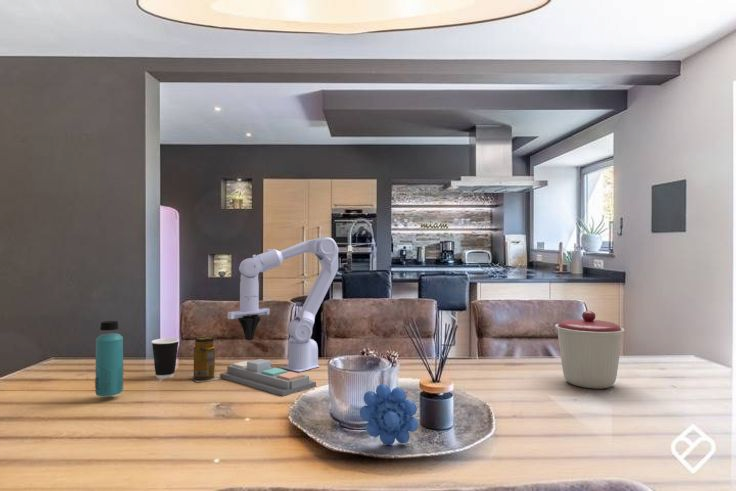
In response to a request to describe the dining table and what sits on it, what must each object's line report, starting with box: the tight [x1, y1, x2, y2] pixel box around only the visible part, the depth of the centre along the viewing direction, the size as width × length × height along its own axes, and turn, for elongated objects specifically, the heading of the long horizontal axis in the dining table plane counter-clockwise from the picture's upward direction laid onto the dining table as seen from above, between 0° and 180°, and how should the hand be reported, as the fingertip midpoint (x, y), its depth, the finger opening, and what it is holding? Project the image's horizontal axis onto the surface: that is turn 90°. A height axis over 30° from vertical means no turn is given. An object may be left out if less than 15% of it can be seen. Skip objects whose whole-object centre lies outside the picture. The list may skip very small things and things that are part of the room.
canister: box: [554, 310, 626, 390], centre depth 134 cm, size 18×18×21 cm
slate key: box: [247, 358, 272, 372], centre depth 138 cm, size 5×5×2 cm
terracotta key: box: [278, 371, 304, 381], centre depth 129 cm, size 5×5×2 cm
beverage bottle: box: [94, 320, 125, 397], centre depth 120 cm, size 6×7×20 cm
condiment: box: [187, 336, 222, 383], centre depth 140 cm, size 7×8×12 cm
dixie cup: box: [150, 337, 180, 380], centre depth 142 cm, size 8×8×11 cm
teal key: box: [262, 367, 288, 376], centre depth 134 cm, size 5×5×2 cm
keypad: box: [219, 363, 317, 397], centre depth 136 cm, size 12×29×3 cm, turn 51°
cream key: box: [232, 360, 249, 369], centre depth 143 cm, size 5×5×2 cm
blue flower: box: [359, 383, 419, 446], centre depth 90 cm, size 12×7×12 cm, turn 97°
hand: (249, 339), depth 147 cm, fingers closed
